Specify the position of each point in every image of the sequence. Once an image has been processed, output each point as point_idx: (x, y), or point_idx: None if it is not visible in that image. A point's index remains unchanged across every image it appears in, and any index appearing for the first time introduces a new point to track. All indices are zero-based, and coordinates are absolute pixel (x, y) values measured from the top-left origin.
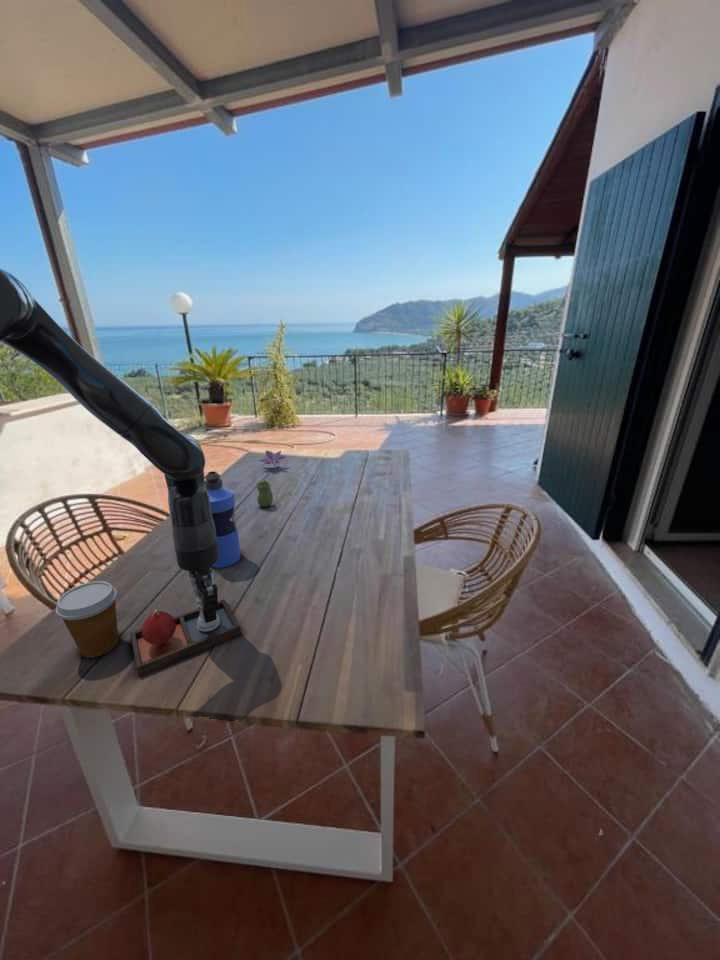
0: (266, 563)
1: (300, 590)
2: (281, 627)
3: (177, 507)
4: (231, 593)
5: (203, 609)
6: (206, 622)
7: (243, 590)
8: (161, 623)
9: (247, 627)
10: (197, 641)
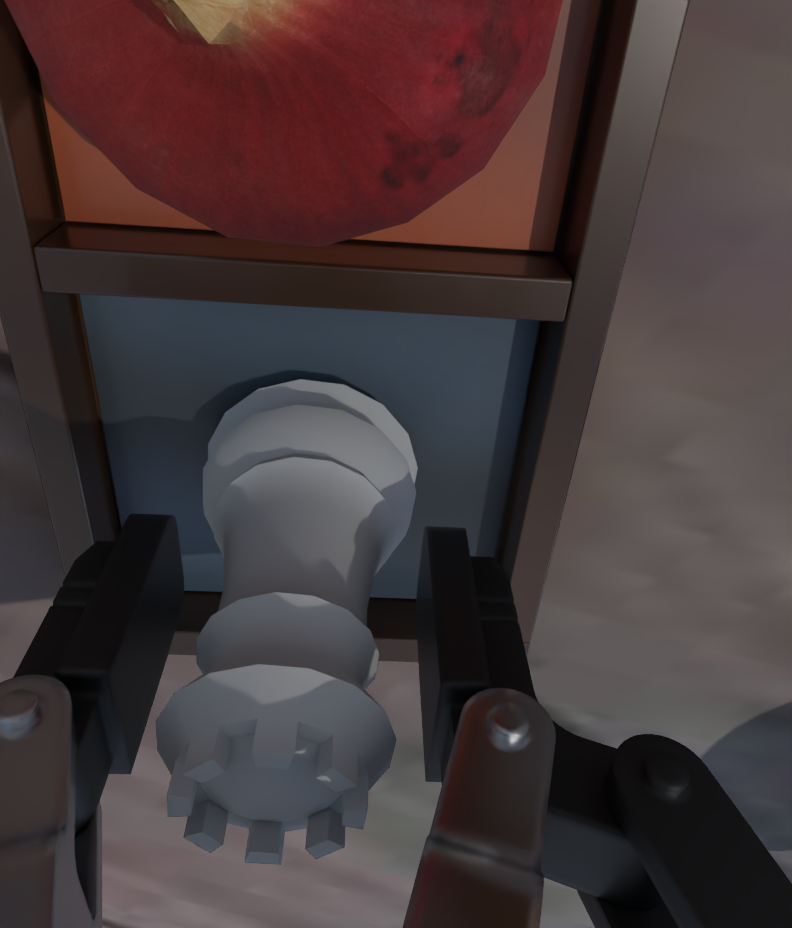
0: None
1: (340, 904)
2: None
3: None
4: (635, 672)
5: (66, 653)
6: (136, 515)
7: (598, 730)
8: (37, 5)
9: None
10: (30, 331)
